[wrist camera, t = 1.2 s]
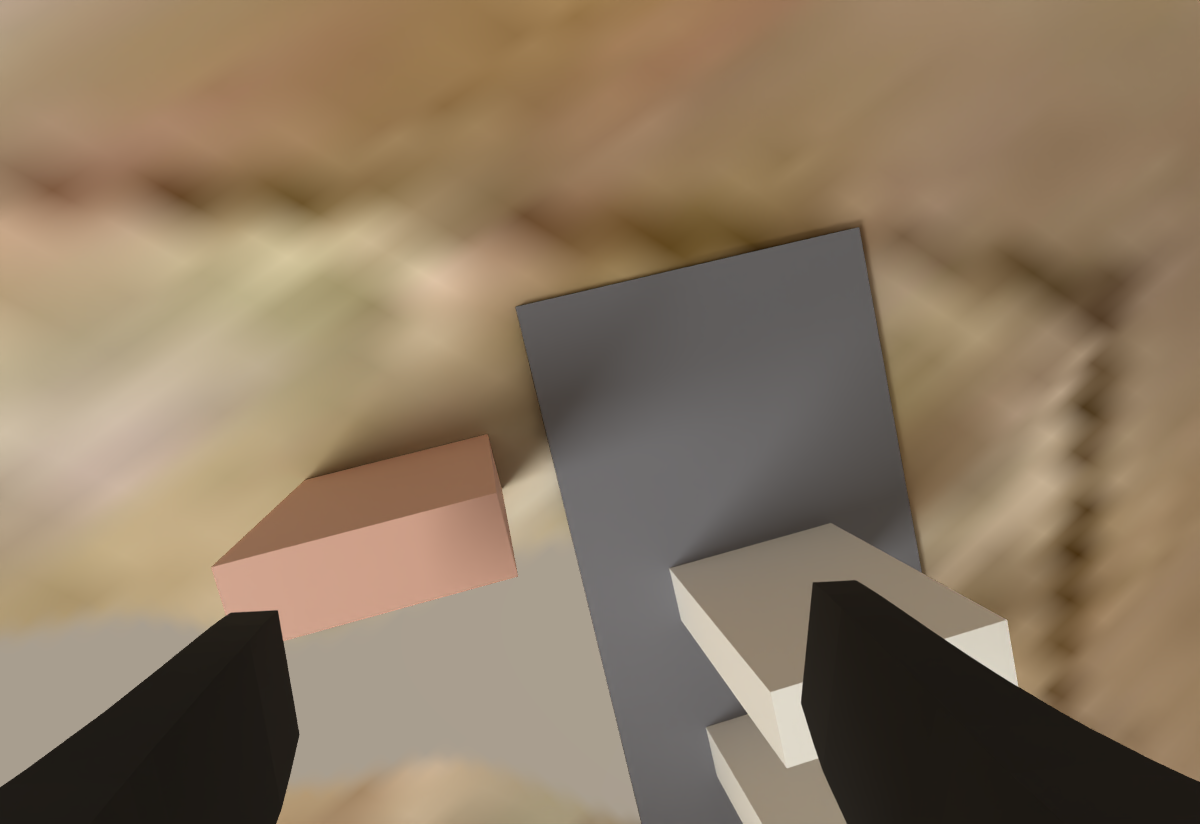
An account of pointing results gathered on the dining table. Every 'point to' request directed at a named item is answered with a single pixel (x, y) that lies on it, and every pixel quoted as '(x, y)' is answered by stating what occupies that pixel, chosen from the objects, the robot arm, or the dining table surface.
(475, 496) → the domino
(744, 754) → the domino
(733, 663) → the domino
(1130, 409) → the dining table surface
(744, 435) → the mat
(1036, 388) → the dining table surface
